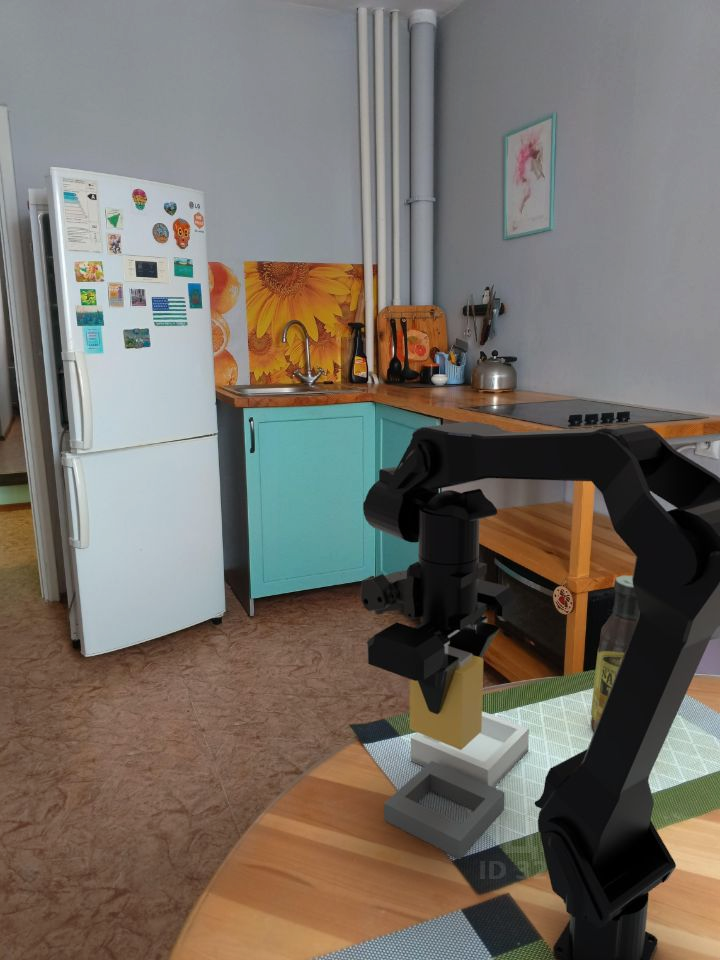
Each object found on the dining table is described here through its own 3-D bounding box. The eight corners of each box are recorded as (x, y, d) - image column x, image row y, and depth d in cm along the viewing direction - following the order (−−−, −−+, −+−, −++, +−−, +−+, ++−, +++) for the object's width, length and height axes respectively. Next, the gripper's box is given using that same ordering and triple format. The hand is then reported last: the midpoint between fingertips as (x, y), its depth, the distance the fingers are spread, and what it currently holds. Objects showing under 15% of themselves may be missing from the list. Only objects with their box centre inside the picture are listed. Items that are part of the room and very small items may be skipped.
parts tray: (487, 794, 77) (488, 770, 77) (410, 760, 83) (411, 737, 83) (528, 750, 85) (529, 728, 84) (455, 722, 91) (455, 701, 90)
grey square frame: (460, 859, 68) (460, 841, 68) (384, 820, 74) (384, 803, 73) (503, 809, 75) (504, 792, 75) (431, 776, 81) (431, 760, 80)
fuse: (461, 750, 69) (462, 668, 67) (409, 728, 73) (409, 650, 71) (481, 731, 72) (483, 652, 70) (431, 711, 76) (431, 636, 74)
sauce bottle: (591, 742, 87) (601, 587, 82) (588, 714, 92) (597, 569, 88) (649, 749, 85) (662, 592, 81) (642, 720, 91) (654, 573, 86)
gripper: (430, 518, 80) (429, 647, 84) (319, 564, 66) (324, 717, 69) (522, 536, 73) (516, 675, 77) (420, 591, 59) (419, 759, 63)
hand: (446, 702), depth 72 cm, fingers closed on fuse, 4 cm apart
